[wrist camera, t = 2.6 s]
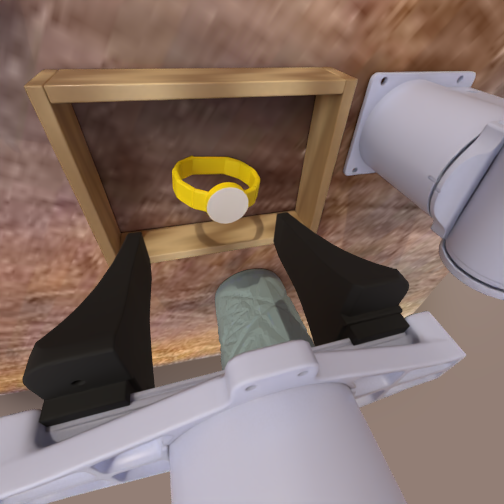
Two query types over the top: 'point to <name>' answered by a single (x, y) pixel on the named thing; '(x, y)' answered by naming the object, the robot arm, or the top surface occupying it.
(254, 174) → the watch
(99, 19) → the top surface
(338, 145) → the box
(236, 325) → the green embossed cup
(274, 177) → the top surface
